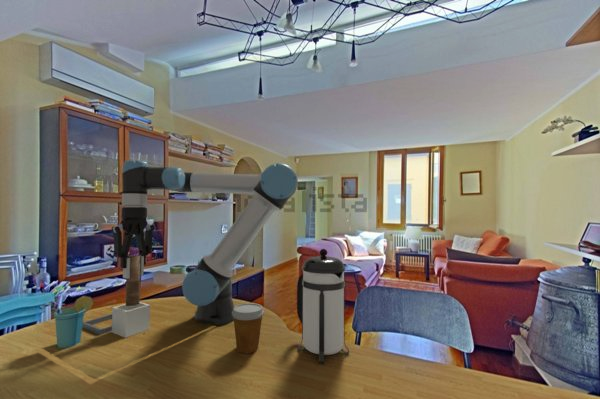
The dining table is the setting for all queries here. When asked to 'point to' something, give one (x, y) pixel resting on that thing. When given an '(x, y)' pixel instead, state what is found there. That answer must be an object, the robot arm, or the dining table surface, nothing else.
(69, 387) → the dining table surface
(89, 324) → the tray
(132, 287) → the dowel
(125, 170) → the robot arm
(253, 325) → the disposable coffee cup
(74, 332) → the cup
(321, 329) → the coffee press
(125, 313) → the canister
